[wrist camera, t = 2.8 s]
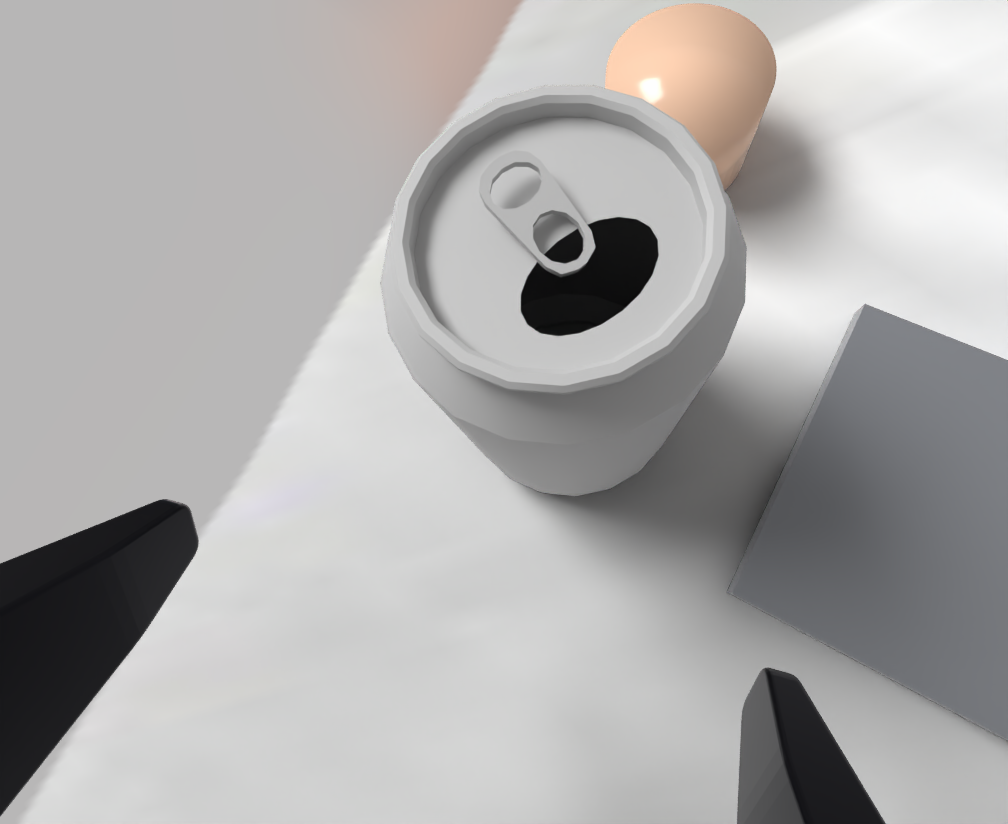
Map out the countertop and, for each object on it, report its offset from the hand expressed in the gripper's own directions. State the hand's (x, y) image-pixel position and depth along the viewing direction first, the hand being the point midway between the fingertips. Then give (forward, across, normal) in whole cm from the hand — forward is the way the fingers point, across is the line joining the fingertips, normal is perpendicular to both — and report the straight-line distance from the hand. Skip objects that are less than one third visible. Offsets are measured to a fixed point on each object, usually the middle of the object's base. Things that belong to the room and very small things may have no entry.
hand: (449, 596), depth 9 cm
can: (+14, 0, +4) cm, 14 cm away
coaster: (+12, -13, +5) cm, 19 cm away
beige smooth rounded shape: (+21, -2, -4) cm, 22 cm away
